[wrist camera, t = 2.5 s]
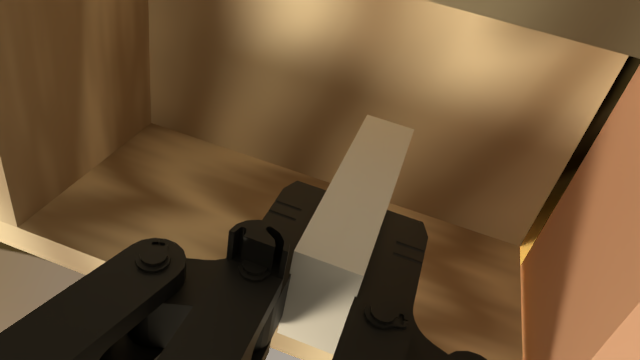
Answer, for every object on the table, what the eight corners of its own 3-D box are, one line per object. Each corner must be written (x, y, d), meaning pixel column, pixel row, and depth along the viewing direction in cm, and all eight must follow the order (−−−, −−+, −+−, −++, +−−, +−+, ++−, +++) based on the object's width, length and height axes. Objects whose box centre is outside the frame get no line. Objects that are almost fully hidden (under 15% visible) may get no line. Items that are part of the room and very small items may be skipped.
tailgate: (518, 261, 24) (522, 440, 17) (698, -46, 16) (855, 46, 9) (544, 270, 24) (558, 455, 17) (739, -36, 16) (934, 66, 8)
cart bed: (142, 127, 27) (-4, 240, 20) (130, -188, 19) (-129, -210, 11) (509, 251, 25) (509, 440, 17) (681, -57, 16) (838, 35, 9)
